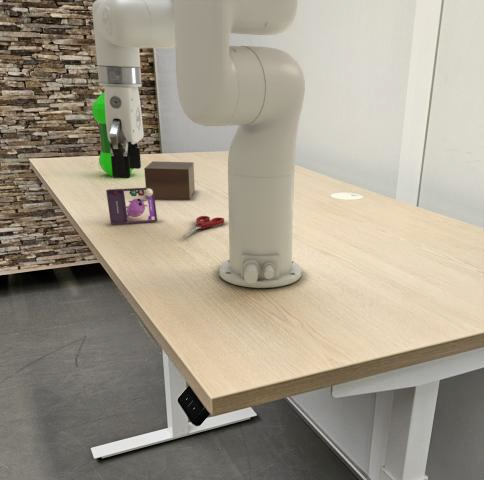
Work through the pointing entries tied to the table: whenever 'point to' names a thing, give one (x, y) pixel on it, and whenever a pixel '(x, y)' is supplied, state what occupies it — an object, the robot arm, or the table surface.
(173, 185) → the walnut block
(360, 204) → the table surface
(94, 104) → the plastic bottle
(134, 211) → the purple toy box
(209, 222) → the scissors
